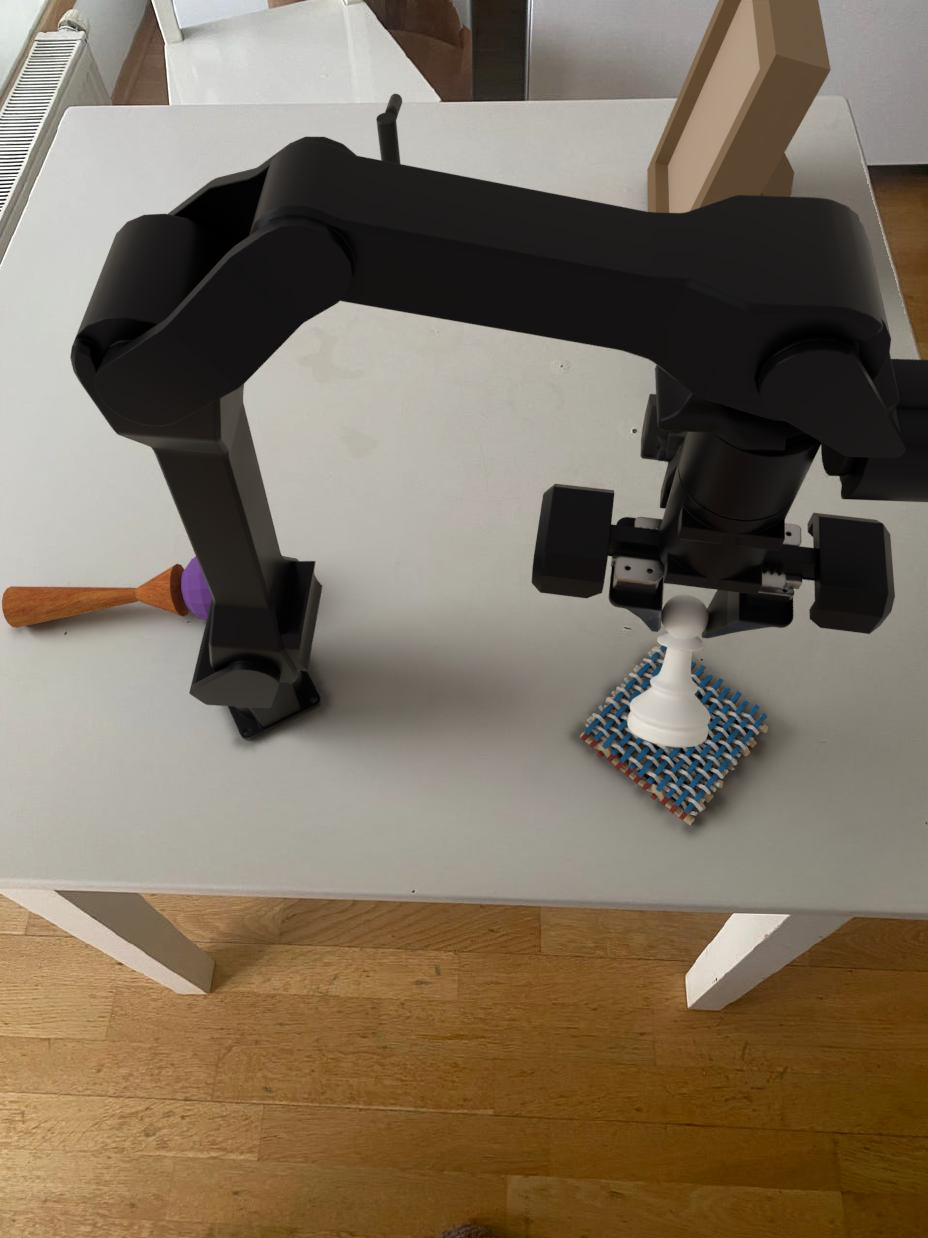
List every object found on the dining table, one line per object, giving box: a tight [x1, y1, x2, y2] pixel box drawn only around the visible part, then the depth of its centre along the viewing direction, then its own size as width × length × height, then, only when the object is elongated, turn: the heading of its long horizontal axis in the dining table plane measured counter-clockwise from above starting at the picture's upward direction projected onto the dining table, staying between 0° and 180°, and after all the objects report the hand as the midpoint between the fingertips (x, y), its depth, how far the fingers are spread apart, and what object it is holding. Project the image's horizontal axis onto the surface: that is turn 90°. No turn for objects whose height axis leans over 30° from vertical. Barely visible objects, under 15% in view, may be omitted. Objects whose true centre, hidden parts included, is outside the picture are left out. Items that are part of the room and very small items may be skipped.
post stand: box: [376, 93, 403, 164], centre depth 88 cm, size 8×6×14 cm
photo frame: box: [646, 0, 832, 213], centre depth 81 cm, size 15×22×25 cm
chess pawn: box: [627, 594, 711, 749], centre depth 56 cm, size 5×5×9 cm
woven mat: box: [579, 645, 769, 826], centre depth 66 cm, size 10×11×2 cm
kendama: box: [1, 556, 212, 629], centre depth 71 cm, size 6×6×20 cm
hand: (680, 628), depth 56 cm, fingers closed on chess pawn, 3 cm apart
